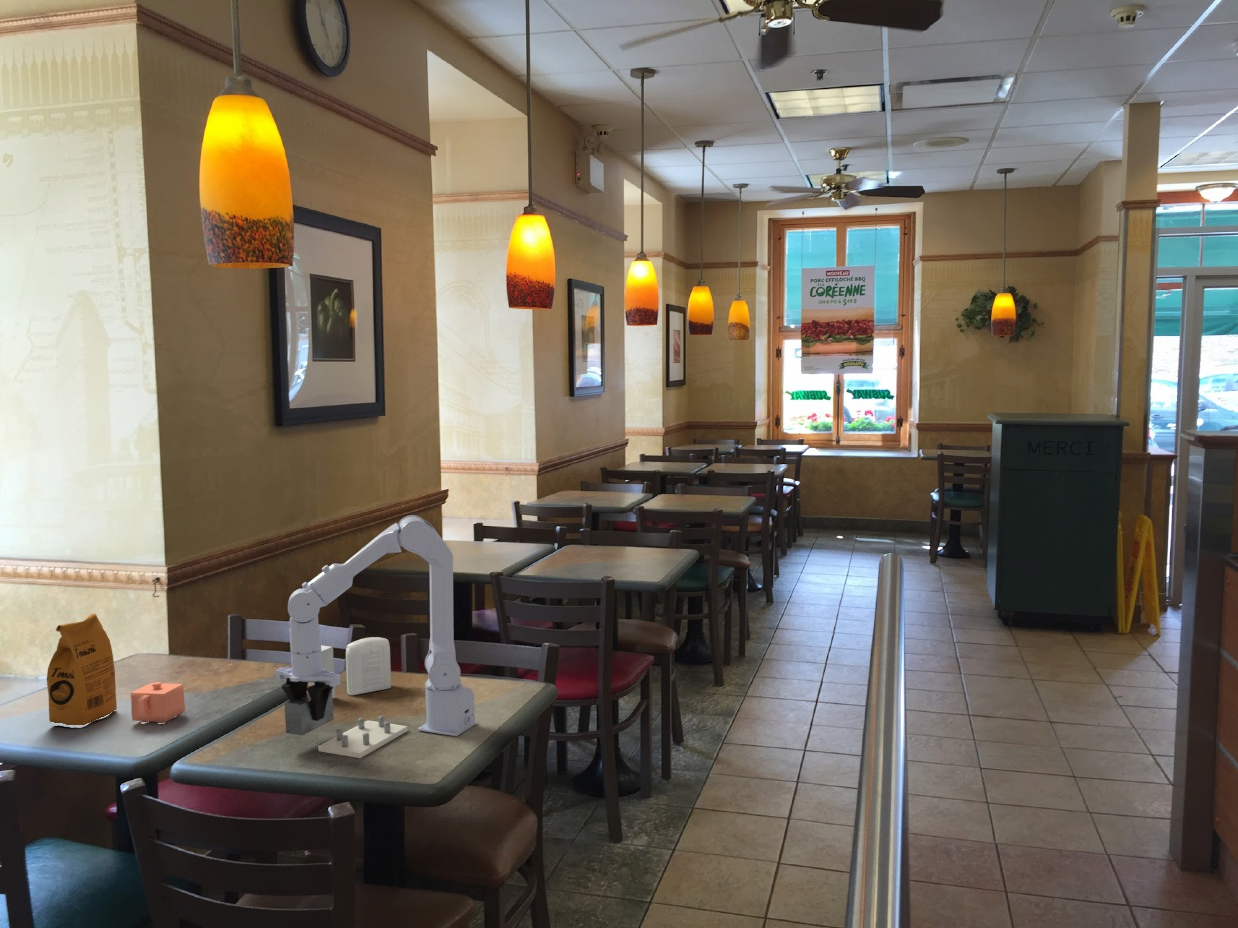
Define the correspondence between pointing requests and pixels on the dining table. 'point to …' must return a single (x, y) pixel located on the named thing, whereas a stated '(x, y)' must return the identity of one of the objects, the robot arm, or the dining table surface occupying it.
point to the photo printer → (368, 665)
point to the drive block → (305, 715)
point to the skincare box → (326, 663)
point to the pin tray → (362, 738)
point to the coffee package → (81, 674)
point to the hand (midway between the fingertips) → (309, 717)
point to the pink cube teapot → (157, 702)
